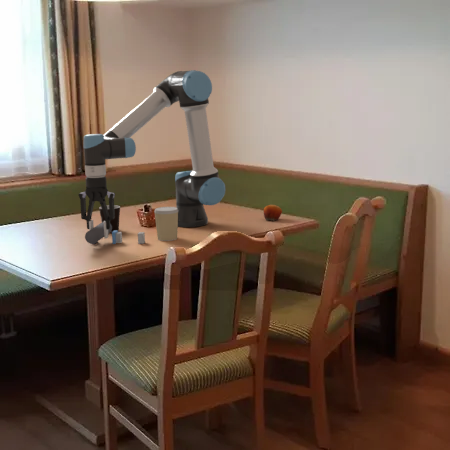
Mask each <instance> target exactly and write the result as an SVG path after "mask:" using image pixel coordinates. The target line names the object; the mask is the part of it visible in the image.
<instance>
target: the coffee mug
mask: <svg viewBox="0 0 450 450" xmlns="http://www.w3.org/2000/svg"><path fill="white" fill-rule="evenodd" d="M106 206H107V209H108V212H109V215H110V211H109V204H108V205H106ZM114 209H115V218H114V219H112V220H110V224H111V226H112V230H111V232H110V233H112V232H113V231H114V230H119V231H120V211H121V206H120V205H115V204H114ZM98 210H99V215H100V222H101V223H102V222H104V221H105V217H104V214H103V211H102V207H101V206H99V208H98Z"/></svg>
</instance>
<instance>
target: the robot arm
mask: <svg viewBox="0 0 450 450" xmlns="http://www.w3.org/2000/svg"><path fill="white" fill-rule="evenodd" d="M212 92H213V84H212V80H211V79H210V77H209V75H208V74H206V73H205V72H203V71H201V70H195V69H192V70H191V69H190V70H180V71H179V70H178V71H175V72H172V73H171V74H170V75H168V76H167V77H166V78H164V79H163V80H162V81H161V82H160V83H158V84H157V85H156V86H155V87H154V88H153V89H152V93H150V95H148V96H147V97H146V98H145V99H144V100H142V102H140V103H139V104H137V106H136V107H135V108H133V109H132V110H131V111H130V112H128V113H127V114H126V115H125V116H124V117H123V118H122V119H120V120H119V121H118V122H117V123H115V124H114V125H113V126H112V127H111V128H110V129H108V131H106V132H105V133H104V134H102V133H91V134H90V133H89V134H85V135H84V136H83V147H82V148H83V154H84V155H83V156H84V157H83V158H84V171H85V172H84V173H85V176H86V177H85V188H86V189H85V191H83V192H80V193H78V198H79V201H80V219H82V220H85V222H86V230H88V231H89V230H91V229H93V228H94V227H95V226H94V225H95V224H94V219H93V218H92V216H93V211H94V207H95V202H98V203H99V204H100V207H102V211H103V214H104V217H105V221H104V237H103V239H108V238H109V234H108V229H110V220H112V219H114V218H115V209H114V205H115V195H116V193H115V192H110V191H109V190H108V188H107V187H108V186H107V177H106V175H107V169H106V168H107V167H106V160H117V159H128V158H133V157H134V156H135V155H136V152H137V147H136V142H135V140H134V139H133V138H132V136H134V135H135V134H136V133H137V132H139V131H140V130H141V129H142V128H143V127H144V126H145V125H146V124H147V123H148V122H150V121H151V120H152V119H154V117H156V116H157V115H158V114H159V113H161V112H162V111H163V109H165V108H170V107H171V106H172V105H173V104H176V103H179V107H180V109H182V110H183V111H184V118H185V123H186V130H187V132H186V133H187V137H188V144H189V145H188V146H189V151H190V158H191V166H192V167H191V168H192V170H186V171H177V172H176V174H175V178H174V179H175V180H174V182H175V204H176V206H175V207H176V208H177V209H178V227H179V228H180V227H182V228H195V227H203V226H206V225H208V224H209V218H208V215H207V213H206V210H205V207H204V206H214V205H217V204H219V203H220V202H221V201H222V199H223V198H224V197H225V195H226V184H225V182H224V181H223V180H222V179H221V177H220V175H219V170H218V169H217V168H216V167H214V159H213V151H212V144H211V138H210V129H209V120H208V115H207V109H206V108H208V106H209V104H210V102H209V101H210V100H209V98H210V97H211V95H212ZM87 197H88V207H87V200H86V198H87ZM106 197H107V198H108V205H109V211H110V215H109V212H108V209H107V206H108V205H107V203H106V202H107V201H106Z"/></svg>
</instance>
